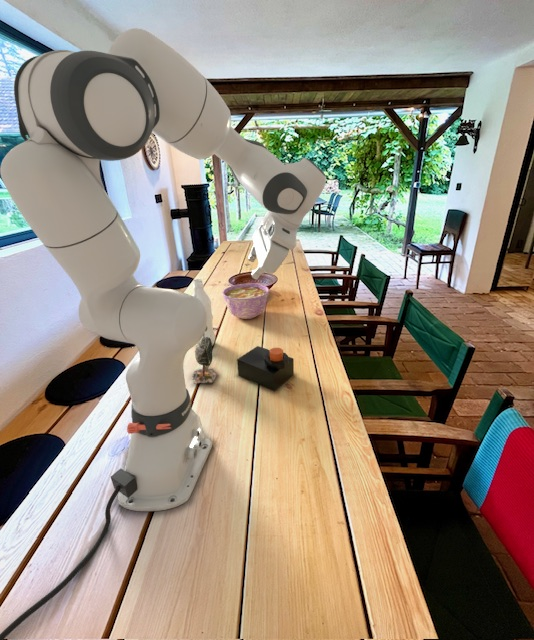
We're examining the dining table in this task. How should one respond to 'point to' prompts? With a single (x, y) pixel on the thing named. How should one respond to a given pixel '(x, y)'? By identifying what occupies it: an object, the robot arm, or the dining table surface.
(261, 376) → the black button box
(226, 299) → the bowl of food
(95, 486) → the dining table surface
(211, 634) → the dining table surface
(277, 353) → the round orange button
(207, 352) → the plant with pod
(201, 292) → the water bottle
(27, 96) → the robot arm
